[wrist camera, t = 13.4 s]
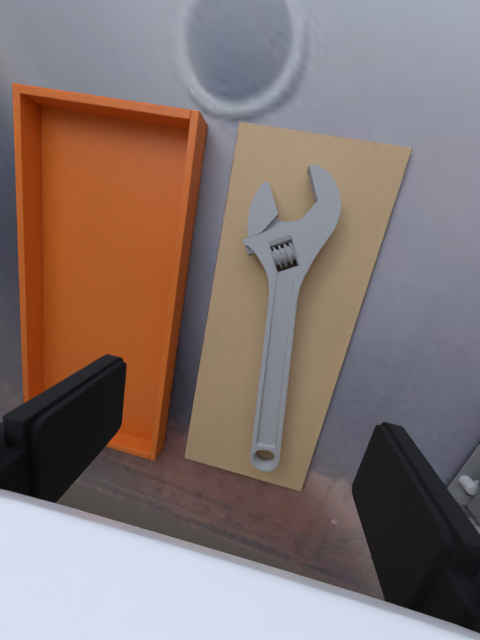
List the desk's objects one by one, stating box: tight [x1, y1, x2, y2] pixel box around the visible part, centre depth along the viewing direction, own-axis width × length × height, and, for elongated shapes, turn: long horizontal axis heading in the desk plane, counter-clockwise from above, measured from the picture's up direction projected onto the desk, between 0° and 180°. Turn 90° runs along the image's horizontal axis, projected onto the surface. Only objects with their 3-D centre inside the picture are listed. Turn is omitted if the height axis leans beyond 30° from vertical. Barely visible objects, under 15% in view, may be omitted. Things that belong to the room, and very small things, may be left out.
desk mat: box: [184, 122, 412, 492], centre depth 23 cm, size 12×30×1 cm, turn 169°
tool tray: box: [12, 83, 208, 461], centre depth 23 cm, size 14×29×2 cm, turn 169°
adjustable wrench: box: [242, 164, 341, 472], centre depth 22 cm, size 25×6×2 cm, turn 171°
